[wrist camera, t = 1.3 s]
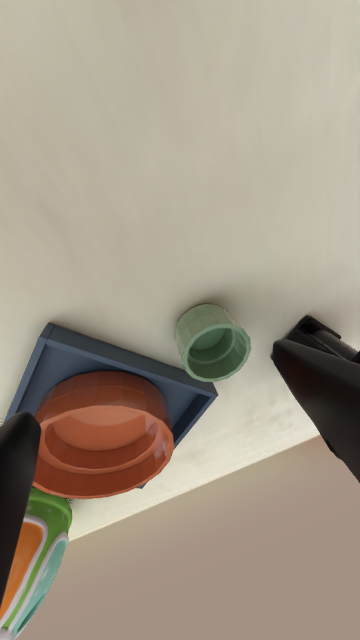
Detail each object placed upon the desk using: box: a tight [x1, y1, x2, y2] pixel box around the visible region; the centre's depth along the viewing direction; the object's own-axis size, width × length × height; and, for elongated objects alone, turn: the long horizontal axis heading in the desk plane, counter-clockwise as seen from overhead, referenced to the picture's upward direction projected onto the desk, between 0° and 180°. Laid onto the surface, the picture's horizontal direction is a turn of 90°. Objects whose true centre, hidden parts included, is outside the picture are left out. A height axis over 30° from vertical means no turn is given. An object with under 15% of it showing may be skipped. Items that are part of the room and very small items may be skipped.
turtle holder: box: [0, 487, 72, 640], centre depth 25 cm, size 12×18×12 cm
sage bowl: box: [174, 304, 251, 382], centre depth 21 cm, size 6×6×4 cm
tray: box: [3, 323, 218, 489], centre depth 25 cm, size 18×18×2 cm
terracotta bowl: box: [33, 371, 174, 499], centre depth 23 cm, size 14×14×5 cm
